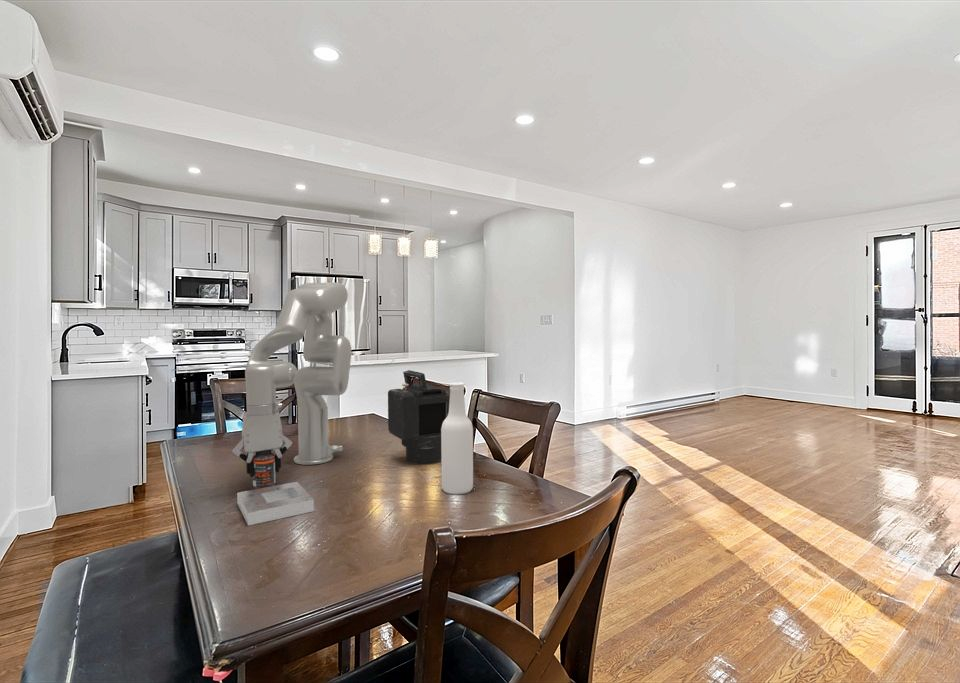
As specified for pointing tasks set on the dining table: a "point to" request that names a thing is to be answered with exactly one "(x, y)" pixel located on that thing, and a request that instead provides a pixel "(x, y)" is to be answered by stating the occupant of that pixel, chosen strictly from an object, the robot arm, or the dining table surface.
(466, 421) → the alcohol
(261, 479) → the supplement bottle
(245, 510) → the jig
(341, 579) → the dining table surface
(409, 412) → the lantern
